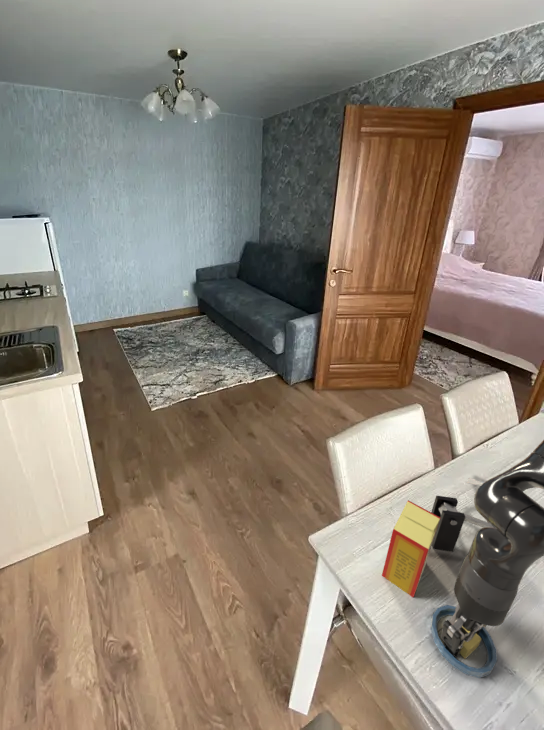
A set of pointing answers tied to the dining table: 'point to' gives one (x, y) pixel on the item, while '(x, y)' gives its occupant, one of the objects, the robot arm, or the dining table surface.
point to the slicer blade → (467, 518)
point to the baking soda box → (410, 547)
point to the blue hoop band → (450, 658)
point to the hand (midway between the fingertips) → (460, 642)
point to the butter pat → (470, 645)
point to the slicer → (447, 525)
